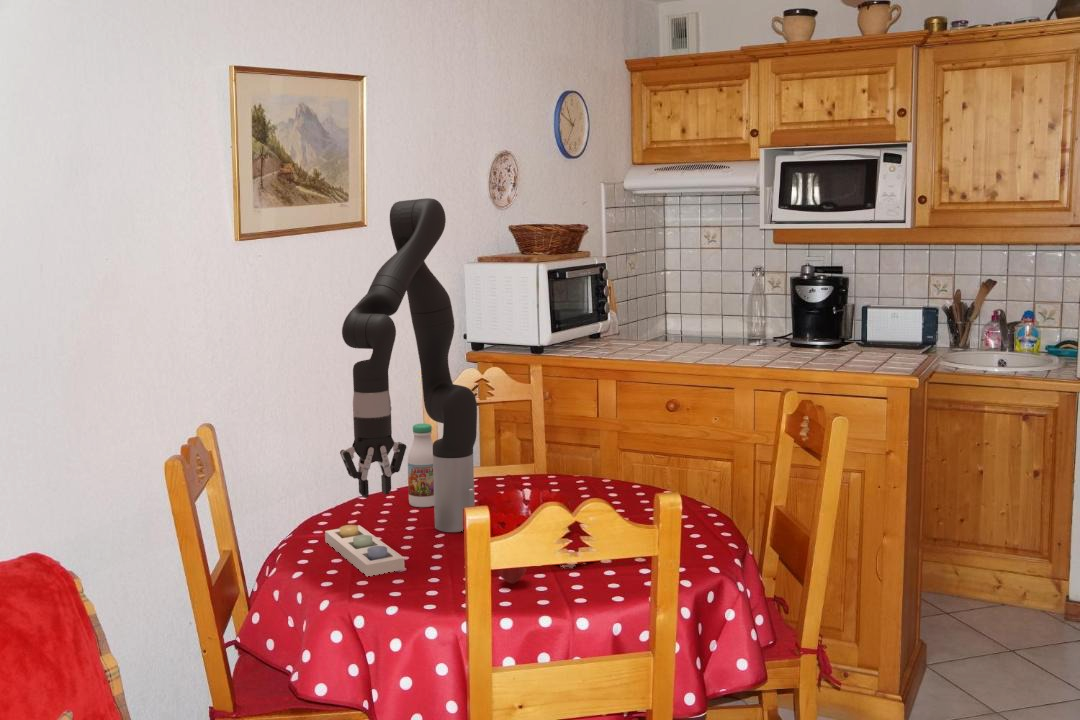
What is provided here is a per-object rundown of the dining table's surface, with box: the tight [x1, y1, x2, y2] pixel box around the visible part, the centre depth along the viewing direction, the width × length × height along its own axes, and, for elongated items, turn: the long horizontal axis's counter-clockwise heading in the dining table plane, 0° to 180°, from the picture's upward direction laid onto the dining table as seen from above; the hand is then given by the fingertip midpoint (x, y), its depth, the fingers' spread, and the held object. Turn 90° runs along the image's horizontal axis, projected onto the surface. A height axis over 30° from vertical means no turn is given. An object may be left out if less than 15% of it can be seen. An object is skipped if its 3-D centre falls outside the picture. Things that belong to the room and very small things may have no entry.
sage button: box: [353, 535, 373, 549], centre depth 222 cm, size 4×4×2 cm
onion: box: [497, 567, 528, 585], centre depth 204 cm, size 6×6×8 cm
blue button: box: [367, 546, 388, 561], centre depth 215 cm, size 4×4×2 cm
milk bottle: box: [407, 423, 434, 508], centre depth 259 cm, size 8×8×20 cm
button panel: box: [324, 524, 405, 578], centre depth 222 cm, size 8×26×2 cm, turn 30°
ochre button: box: [339, 524, 359, 538], centre depth 229 cm, size 4×4×2 cm
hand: (375, 495), depth 213 cm, fingers open, 3 cm apart
